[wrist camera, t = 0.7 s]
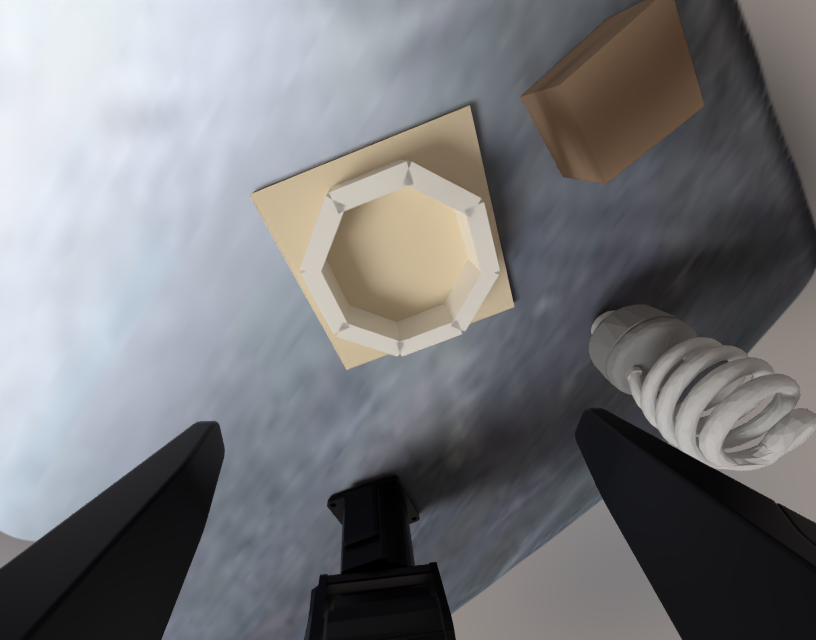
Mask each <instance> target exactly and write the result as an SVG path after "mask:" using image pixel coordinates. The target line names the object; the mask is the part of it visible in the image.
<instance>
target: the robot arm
mask: <svg viewBox="0 0 816 640" xmlns="http://www.w3.org/2000/svg"><path fill="white" fill-rule="evenodd" d="M575 438H576V442H577V444H578V446H579V448H580V450H581V453H582V455H583V457H584V459H585V462H586V464H587V466H588V468H589V470H590V473H591V475H592V477H593V479H594V481H595V484H596V486H597V488H598V490H599V492H600V494H601V496H602V498H603V500H604V502H605V504H606V506H607V507H608V509H609V511H610V513H611V515H612V516H613V518H614V520H615V522H616V523H617V525H618V527H619V529H620V531H621V532H622V534H623V536H624V537H625V539H626V541H627V543H628V544H629V546H630V548H631V550H632V552H633V554H634V555H635V557H636V559H637V561H638V562H639V564H640V566H641V568H642V569H643V571H644V573H645V575H646V576H647V578H648V580H649V582H650V583H651V585H652V587H653V589H654V591H655V593H656V594H657V596H658V598H659V600H660V601H661V603H662V605H663V607H664V608H665V610H666V612H667V614H668V616H669V617H670V619H671V621H672V622H673V624H674V626H675V628H676V629H677V631H678V633H679V635H680V637H681V638H682V640H816V523H815V522H813V521H811V520H809V519H807V518H805V517H803V516H801V515H800V514H797V513H796V512H794V511H792V510H790V509H788V508H787V507H785V506H783V505H781V504H778V503H777V504H776V503H775V501H773V500H772V499H770V498H768V497H766V496H764V495H762V494H760V493H758V492H757V491H755V490H753V489H751V488H749V487H747V486H746V485H744V484H742V483H740V482H738V481H736V480H734V479H732V478H731V477H729V476H727V475H725V474H723V473H721V472H720V471H718V470H716V469H714V468H712V467H710V466H708V465H707V464H705V463H703V462H701V461H699V460H697V459H695V458H694V457H692V456H690V455H688V454H686V453H684V452H682V451H681V450H679V449H677V448H675V447H673V446H671V445H669V444H668V443H666V442H664V441H662V440H660V439H658V438H656V437H655V436H653V435H651V434H649V433H647V432H645V431H643V430H642V429H640V428H638V427H636V426H634V425H632V424H630V423H629V422H627V421H625V420H623V419H621V418H619V417H617V416H616V415H614V414H612V413H610V412H608V411H606V410H604V409H602V408H587V409H585V410H584V411H583V413H582V415H581V418H580V420H579V423H578V425H577V428H576V431H575ZM224 453H225V448H224V443H223V438H222V434H221V429H220V425H219V423H218V422H216V421H200V422H196V423H195V424H193V425H192V426H190V427H189V428H188V429H186V430H185V431H184V432H182V433H181V434H180V435H178V436H177V437H176V438H174V439H173V440H172V441H170V442H169V443H168V444H166V445H165V446H164V447H162V448H161V449H160V450H158V451H157V452H156V453H154V454H153V455H152V456H150V457H149V458H148V459H146V460H145V461H143V462H142V463H141V464H139V465H138V466H137V467H135V468H134V469H133V470H131V471H130V472H129V473H127V474H126V475H125V476H123V477H122V478H121V479H119V480H118V481H117V482H115V483H114V484H113V485H111V486H110V487H109V488H107V489H106V490H105V491H103V492H102V493H101V494H99V495H98V496H97V497H95V498H94V499H93V500H91V501H90V502H89V503H87V504H86V505H84V506H83V507H82V508H80V509H79V510H78V511H76V512H75V513H74V514H72V515H71V516H70V517H68V518H67V519H66V520H64V521H63V522H62V523H60V524H59V525H58V526H56V527H55V528H54V529H52V530H51V531H50V532H48V533H47V534H46V535H44V536H43V537H42V538H40V539H39V540H38V541H36V542H35V543H34V544H32V545H31V546H29V547H28V548H27V549H25V550H24V551H23V552H22V553H20V554H19V555H18V556H16V557H15V558H13V559H12V560H11V561H10V562H8V563H7V564H5V565H4V566H3V567H1V568H0V640H161V639H162V637H163V634H164V631H165V629H166V626H167V624H168V621H169V619H170V616H171V613H172V611H173V608H174V606H175V603H176V601H177V598H178V595H179V593H180V590H181V588H182V585H183V583H184V580H185V578H186V575H187V572H188V570H189V567H190V565H191V562H192V560H193V557H194V554H195V552H196V549H197V547H198V544H199V542H200V539H201V536H202V533H203V531H204V528H205V525H206V521H207V518H208V514H209V511H210V507H211V503H212V500H213V496H214V492H215V489H216V485H217V481H218V478H219V474H220V470H221V467H222V463H223V459H224ZM327 506H328V508H329V509H330V510H331V512H332V513H333V514H334V515H335V517H336V518H337V519H338V520H339V522H340V523H341V524H342V548H341V574H337V575H328V574H323V575H320V578H319V585H318V586H317V587H315V588H314V589H312V591H311V601H310V610H309V618H308V623H307V628H306V633H305V637H304V640H456V639H455V632H454V626H453V621H452V617H451V613H450V609H449V606H448V602H447V599H446V595H445V591H444V588H443V584H442V580H441V577H440V573H439V570H438V566H437V563H436V562H431V563H429V564H426V565H417V566H415V562H414V555H413V548H412V540H411V533H410V526H409V524H411V523H414V522H417V521H418V520H419V519H420V518H419V513H418V511H417V509H416V508H415V506H414V504H413V502H412V501H411V499H410V497H409V495H408V494H407V492H406V490H405V488H404V487H403V485H402V483H401V482H400V480H399V478H398V477H397V476H390V477H387V478H384V479H381V480H379V481H376V482H373V483H370V484H367V485H365V486H362V487H359V488H356V489H353V490H351V491H348V492H345V493H342V494H340V495H337V496H334V497H331V498H329V499H328V503H327Z"/></svg>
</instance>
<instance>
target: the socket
mask: <svg viewBox="0 0 816 640" xmlns="http://www.w3.org/2000/svg"><path fill="white" fill-rule="evenodd" d="M250 197H251V199H252V201H253V203H254V204H255V206H256V208H257V210H258V211H259V213H260V215H261V217H262V219H263V220H264V222H265V224H266V226H267V228H268V229H269V231H270V233H271V235H272V237H273V238H274V240H275V242H276V244H277V246H278V247H279V249H280V251H281V253H282V255H283V256H284V258H285V260H286V262H287V264H288V265H289V267H290V269H291V271H292V273H293V274H294V276H295V278H296V280H297V281H298V283H299V285H300V287H301V289H302V290H303V292H304V294H305V296H306V298H307V299H308V301H309V303H310V305H311V307H312V308H313V310H314V312H315V314H316V316H317V317H318V319H319V321H320V323H321V325H322V326H323V328H324V330H325V332H326V334H327V335H328V337H329V339H330V341H331V342H332V344H333V346H334V348H335V350H336V351H337V353H338V355H339V357H340V359H341V360H342V362H343V364H344V366H345V368H346V369H347V370H348V369H350V368H353V367H356V366H358V365H361V364H364V363H366V362H369V361H372V360H374V359H377V358H380V357H382V356H385V355H388V354H391V355H394V356H397V357H398V356H399V354H401V356H405V355H408V354H410V353H413V352H416V351H418V350H421V349H424V348H426V347H429V346H432V345H434V344H437V343H440V342H442V341H445V340H448V339H450V338H453V337H456V336H458V335H461V334H462V332H461V330H463V331H466V329H467V328H468V326H469V324H470V323H473V322H476V321H478V320H481V319H484V318H486V317H489V316H492V315H494V314H497V313H500V312H502V311H505V310H508V309H510V308H513V307H514V303H513V299H512V294H511V289H510V285H509V280H508V276H507V271H506V267H505V262H504V258H503V253H502V249H501V244H500V240H499V235H498V231H497V226H496V221H495V217H494V212H493V208H492V203H491V199H490V194H489V190H488V185H487V181H486V176H485V172H484V167H483V163H482V158H481V153H480V149H479V144H478V140H477V135H476V131H475V126H474V122H473V117H472V113H471V108H470V105H469V106H466V107H464V108H462V109H459V110H457V111H454V112H452V113H449V114H447V115H444V116H442V117H439V118H437V119H434V120H432V121H429V122H427V123H425V124H422V125H420V126H417V127H415V128H412V129H410V130H407V131H405V132H402V133H400V134H397V135H395V136H392V137H390V138H388V139H385V140H383V141H380V142H378V143H375V144H373V145H370V146H368V147H365V148H363V149H360V150H358V151H355V152H353V153H350V154H348V155H346V156H343V157H341V158H338V159H336V160H333V161H331V162H328V163H326V164H323V165H321V166H318V167H316V168H313V169H311V170H309V171H306V172H304V173H301V174H299V175H296V176H294V177H291V178H289V179H286V180H284V181H281V182H279V183H276V184H274V185H271V186H269V187H267V188H264V189H262V190H259V191H257V192H254V193H252V194H250Z"/></svg>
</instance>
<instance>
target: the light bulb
mask: <svg viewBox="0 0 816 640" xmlns="http://www.w3.org/2000/svg"><path fill="white" fill-rule="evenodd" d="M591 333H592V336H591V338H590V342H589V355H590V358H591V360H592V362H593V364H594V365H595V366H596V367H597V368H598V369H599V371H600V372H601V373H602V374H603V375H604V376H605V377H606V379H607V380H608V381H609V382H610V383H611V384H612V385H614V386H615V387H617V388H618V389H619V390H620V391H622V392H624V393H627V394H630V395H633V397H634V399H635V401H636V403H637V405H638V406H639V407H640V408H641V409H642V411H643V413H644V415H645V417H646V418H647V420H648V421H649V422H650V423H651V425H653V426H654V427H656V428H657V429H658V430H659V431H660V433H661V434H662V436H663V437H664V438H665V439H666V440H667V441H668V442H670V443H671V444H673V445H675V446H677V447H679V448H680V450H681V451H682V452H684V453H686V454H688V455H690V456H692V457H694V458H695V459H697V460H699V461H701V462H703V463H705V464H707V465H708V466H710V467H712V468H716V469H730V470H739V471H746V470H755V469H758V468H761V467H764V466H767V465H770V464H772V463H774V462H776V461H777V460H778V459H780V458H781V456H782V455H783V454H785V453H788V452H790V451H791V450H793V449H794V448H796V447H798V446H800V445H801V444H802V443H804V442H805V441H806V440H807V439H808V437H809V436H810V435H811V434H812V433H813V432H814V431H815V429H816V414H815V413H813V412H812V411H810V410H808V409H804V408H798V409H794V408H795V406H796V404H797V402H798V400H799V398H800V387H799V385H798V384H797V383H796V381H795V380H794V379H792V378H790V377H789V376H786V375H783V374H774V371H773V369H772V367H771V366H770V365H769V364H768V363H767V362H765V361H764V360H762V359H758V358H751V357H748V355H747V354H746V353H745V352H744V351H742V350H741V349H740V348H737V347H734V346H728V345H721V344H720V343H719V342H718V341H716V340H714V339H712V338H705V337H697V335H696V333H695V331H694V329H693V328H692V327H691V326H690V325H688V324H686V323H684V322H683V321H682V320H681V319H680V318H679V317H676V316H673V315H671V314H668V313H666V312H663V311H661V310H658V309H656V308H653V307H651V306H648V305H645V304H635V305H630V306H626V307H622V308H620V309H618V310H616V311H615V310H613V311H607V312H605V313H603V314H602V315H600V316H598V317H597V319H596V320H595V321H594V323H593V325H592V328H591ZM723 360H728V363H725V364H723V365H721V366H719V367H717V368H716V369H714V370H712V371H711V372H710V373H709V374H707V375H706V376H705V377H703V378H702V379H701V380H700V381H699V382H698V383H697V384H696V385H695V386H694V387H693V388H692V389H691V391H690V392H689V394H688V395H687V396H686V398H685V399H684V401H683V402H682V403H677V401H678V399H679V397H680V396H681V394H682V392H683V390H684V389H685V388H686V387H687V386H688V385H689V384H690V382H691V381H692V380H693V379H694V378H695V377H696V376H697V375H698V374H699V373H700V372H702V371H703V370H705V369H706V368H708V367H709V366H711V365H713V364H715V363H717V362H720V361H723ZM751 374H752V379H751V380H750V381H748V382H746V383H744V384H743V385H741V386H740V387H739V385H740V384H741V383H742V382H743V381H744V379H745V378H746V376H747V375H751ZM659 391H660V394H659V396H658V399H657V393H658V392H659ZM774 393H776V395H775V396H774V398H773V400H772V401H771V403H769V405H768V406H767V407H766V408H765V409H764V410H763V411H762V412H761V413H760V414H758V415H757V416H755V417H754V418H753V419H751V420H750V421H749V422H747V423H745V424H743V425H741V426H739V427H737V428H735V429H733V430H731V428H732V427H733V425H734V424H735V423H736V421H737V420H739V419H740V418H742V417H744V416H745V415H746V414H748V413H749V412H750V411H752V410H753V409H754V408H755V407H757V406H758V405H759V404H760V403H761V402H762V401H763V400H764V398H766V397H768V396H769V395H772V394H774ZM676 403H677V404H676ZM719 403H720V404H719ZM717 404H719V405H718V406H717V407H716V408H715V409H714V410H713V411H712V412H711V414H710V415H708V416H705V417H702V418H700V417H701V414H702V412H704V411H706V410H708V409H710V408H712V407H714V406H716V405H717ZM793 409H794V410H793ZM674 419H676V420H674ZM766 432H768V433H767V434H766V435H765V437H764V438H763V440H762V441H761V442H760V443H759V444H758V445H757V446H755V447H752V448H749V449H746V450H742V451H738V452H734V453H726V452H725V451H723V450H725V449H729V448H733V447H736V446H740V445H742V444H744V443H746V442H749V441H751V440H753V439H756V438H758V437H760V436H761V435H763V434H764V433H766ZM699 434H700V435H699ZM696 435H699V437H696Z"/></svg>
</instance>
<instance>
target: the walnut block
mask: <svg viewBox="0 0 816 640" xmlns="http://www.w3.org/2000/svg"><path fill="white" fill-rule="evenodd" d="M521 99H522V101H523V103H524V105H525V107H526V108H527V110H528V112H529V114H530V116H531V118H532V120H533V122H534V123H535V125H536V127H537V129H538V131H539V133H540V135H541V137H542V138H543V140H544V142H545V144H546V146H547V148H548V150H549V152H550V153H551V155H552V157H553V159H554V161H555V163H556V165H557V167H558V168H559V170H560V172H561V174H562V176H563V177H566V178H573V179H579V180H585V181H592V182H598V183H605V184H607V183H608V182H609V181H610V180H612V179H613V178H614V177H615V176H617V175H618V174H619V173H621V172H622V171H623V170H624V169H626V168H627V167H628V166H629V165H631V164H632V163H633V162H634V161H636V160H637V159H638V158H639V157H641V156H642V155H643V154H645V153H646V152H647V151H648V150H650V149H651V148H652V147H653V146H655V145H656V144H657V143H658V142H660V141H661V140H662V139H663V138H665V137H666V136H667V135H669V134H670V133H671V132H672V131H674V130H675V129H676V128H677V127H679V126H680V125H681V124H682V123H684V122H685V121H686V120H688V119H689V118H690V117H691V116H693V115H694V114H695V113H696V112H698V111H699V110H700V109H701V108H703V107H704V106H705V105H704V102H703V98H702V95H701V91H700V88H699V84H698V81H697V77H696V74H695V70H694V67H693V63H692V60H691V56H690V53H689V49H688V46H687V42H686V39H685V35H684V32H683V28H682V25H681V21H680V18H679V14H678V11H677V8H676V4H675V1H674V0H644V1H642V2H640V3H638V4H636V5H634V6H632V7H630V8H628V9H626V10H624V11H622V12H620V13H618V14H616V15H614V16H612V17H610V18H608V19H606V20H605V21H604V22H603V23H602V24H601V25H599V26H598V27H597V28H596V29H595V30H594V31H593V32H592V33H591V34H589V35H588V36H587V37H586V38H585V39H584V40H583V41H582V42H581V43H580V44H578V45H577V46H576V47H575V48H574V49H573V50H572V51H571V52H570V53H568V54H567V55H566V56H565V57H564V58H563V59H562V60H561V61H560V62H558V63H557V64H556V65H555V66H554V67H553V68H552V69H551V70H550V71H548V72H547V73H546V74H545V75H544V76H543V77H542V78H541V79H540V80H539V81H537V82H536V83H535V84H534V85H533V86H532V87H531V88H530V89H529V90H527V91H526V92H525V93H524V94H523V95H522V96H521Z"/></svg>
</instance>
